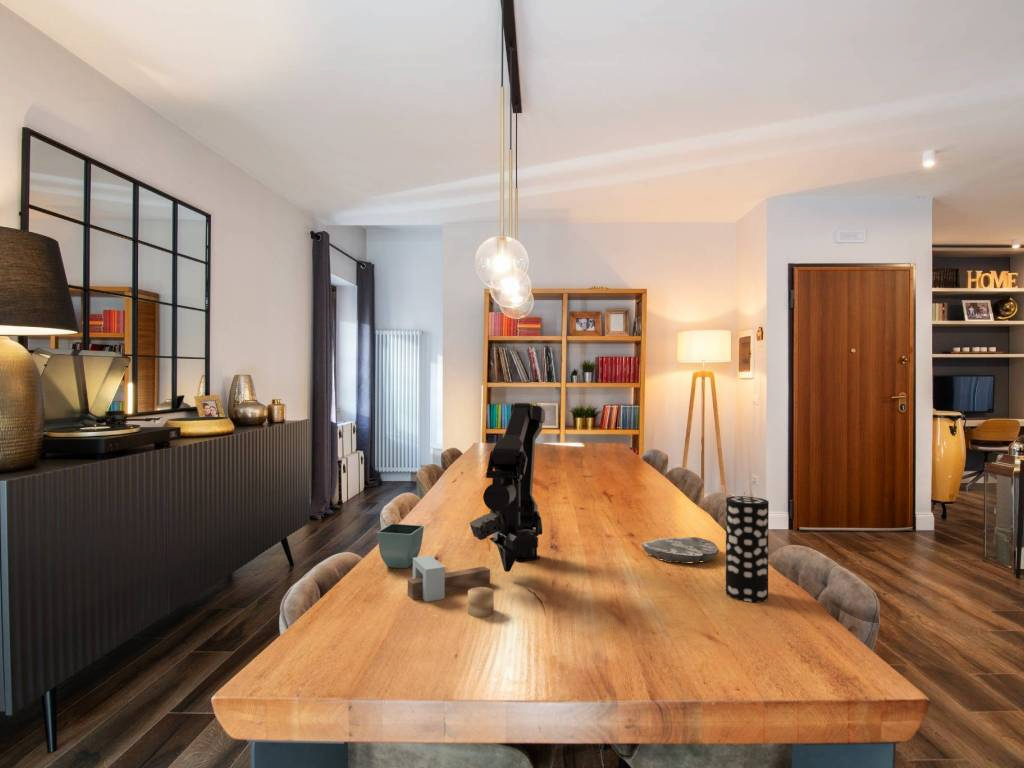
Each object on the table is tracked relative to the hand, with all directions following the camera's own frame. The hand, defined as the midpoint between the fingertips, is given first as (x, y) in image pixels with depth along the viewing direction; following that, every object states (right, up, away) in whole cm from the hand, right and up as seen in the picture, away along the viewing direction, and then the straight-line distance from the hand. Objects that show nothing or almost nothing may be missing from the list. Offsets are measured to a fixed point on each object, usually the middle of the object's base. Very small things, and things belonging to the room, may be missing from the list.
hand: (507, 571), depth 130 cm
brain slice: (+46, -3, +19) cm, 50 cm away
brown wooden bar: (-12, -2, -6) cm, 14 cm away
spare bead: (-5, -2, -18) cm, 19 cm away
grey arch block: (-17, -2, -8) cm, 19 cm away
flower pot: (-26, -2, +10) cm, 28 cm away
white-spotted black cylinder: (+51, -3, -8) cm, 51 cm away
